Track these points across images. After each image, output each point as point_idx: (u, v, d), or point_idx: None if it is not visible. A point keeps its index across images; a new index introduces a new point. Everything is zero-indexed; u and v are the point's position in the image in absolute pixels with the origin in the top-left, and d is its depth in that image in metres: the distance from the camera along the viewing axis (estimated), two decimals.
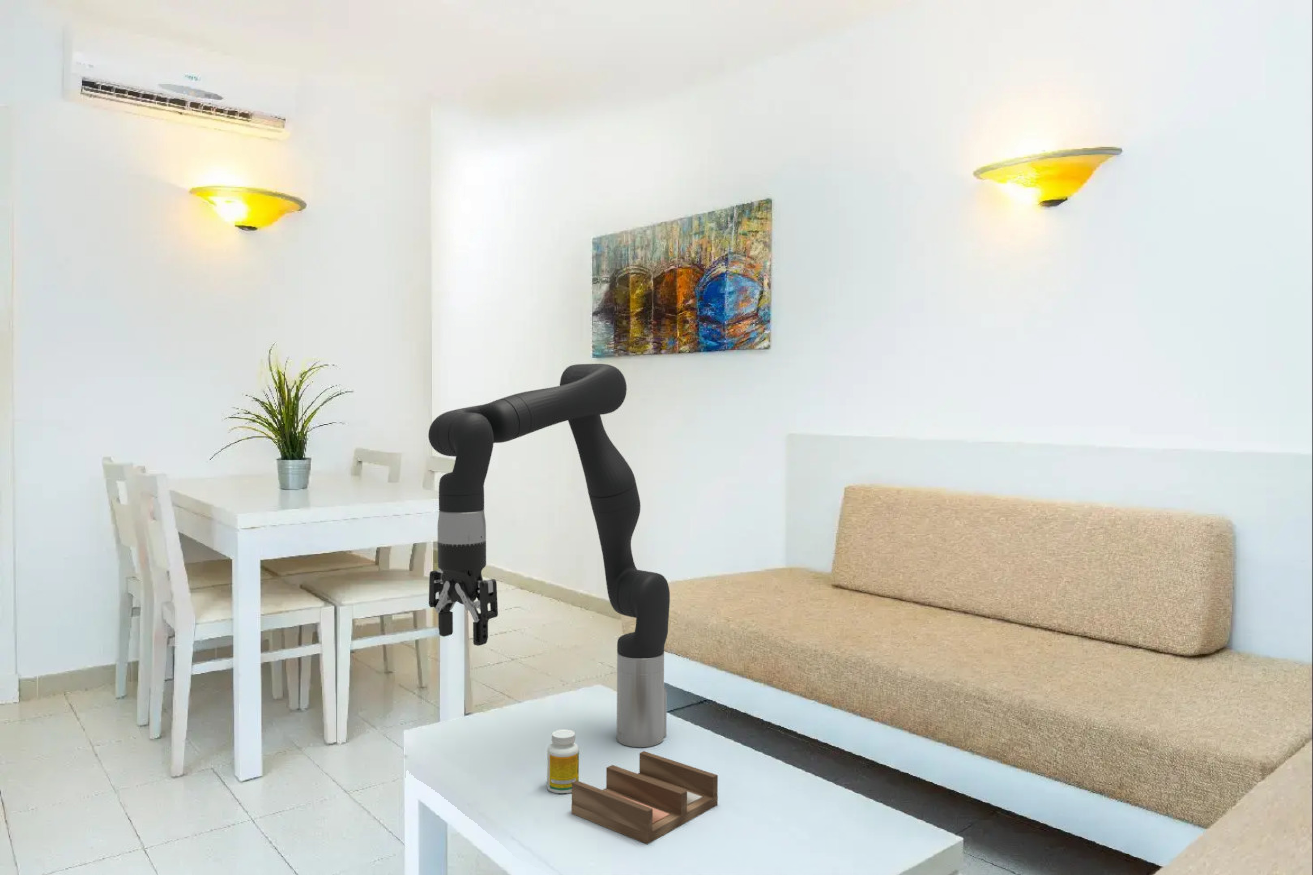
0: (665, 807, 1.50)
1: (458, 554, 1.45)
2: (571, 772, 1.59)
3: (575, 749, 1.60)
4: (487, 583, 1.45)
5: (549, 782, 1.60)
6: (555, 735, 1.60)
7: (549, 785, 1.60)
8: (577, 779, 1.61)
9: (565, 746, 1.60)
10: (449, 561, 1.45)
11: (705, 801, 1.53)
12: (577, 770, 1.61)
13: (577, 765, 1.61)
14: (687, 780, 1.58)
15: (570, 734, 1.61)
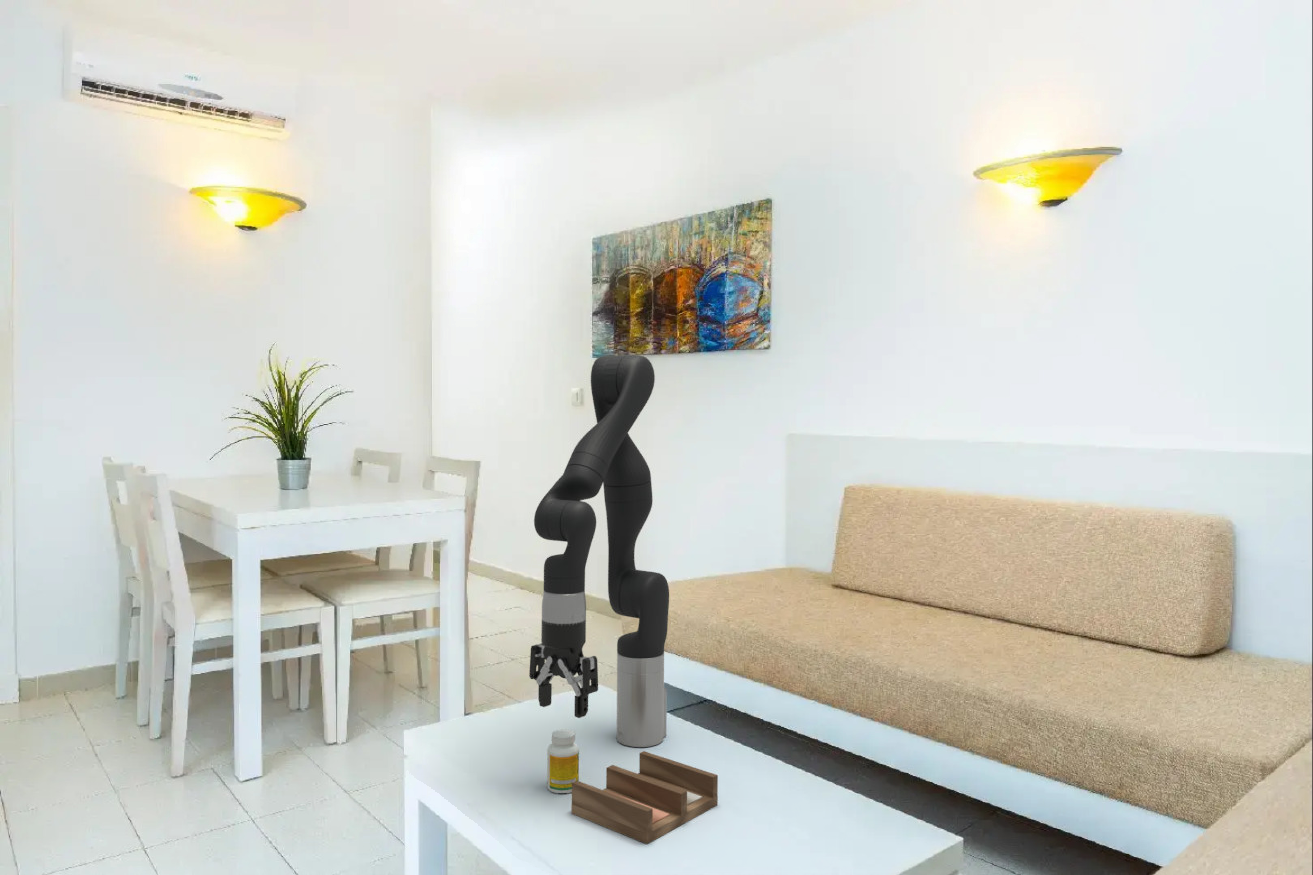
0: (665, 807, 1.50)
1: (563, 633, 1.57)
2: (571, 772, 1.59)
3: (575, 749, 1.60)
4: (589, 660, 1.56)
5: (549, 782, 1.60)
6: (555, 735, 1.60)
7: (549, 785, 1.60)
8: (577, 779, 1.61)
9: (564, 746, 1.60)
10: (554, 639, 1.57)
11: (705, 801, 1.53)
12: (577, 770, 1.61)
13: (577, 765, 1.61)
14: (687, 780, 1.58)
15: (570, 734, 1.61)
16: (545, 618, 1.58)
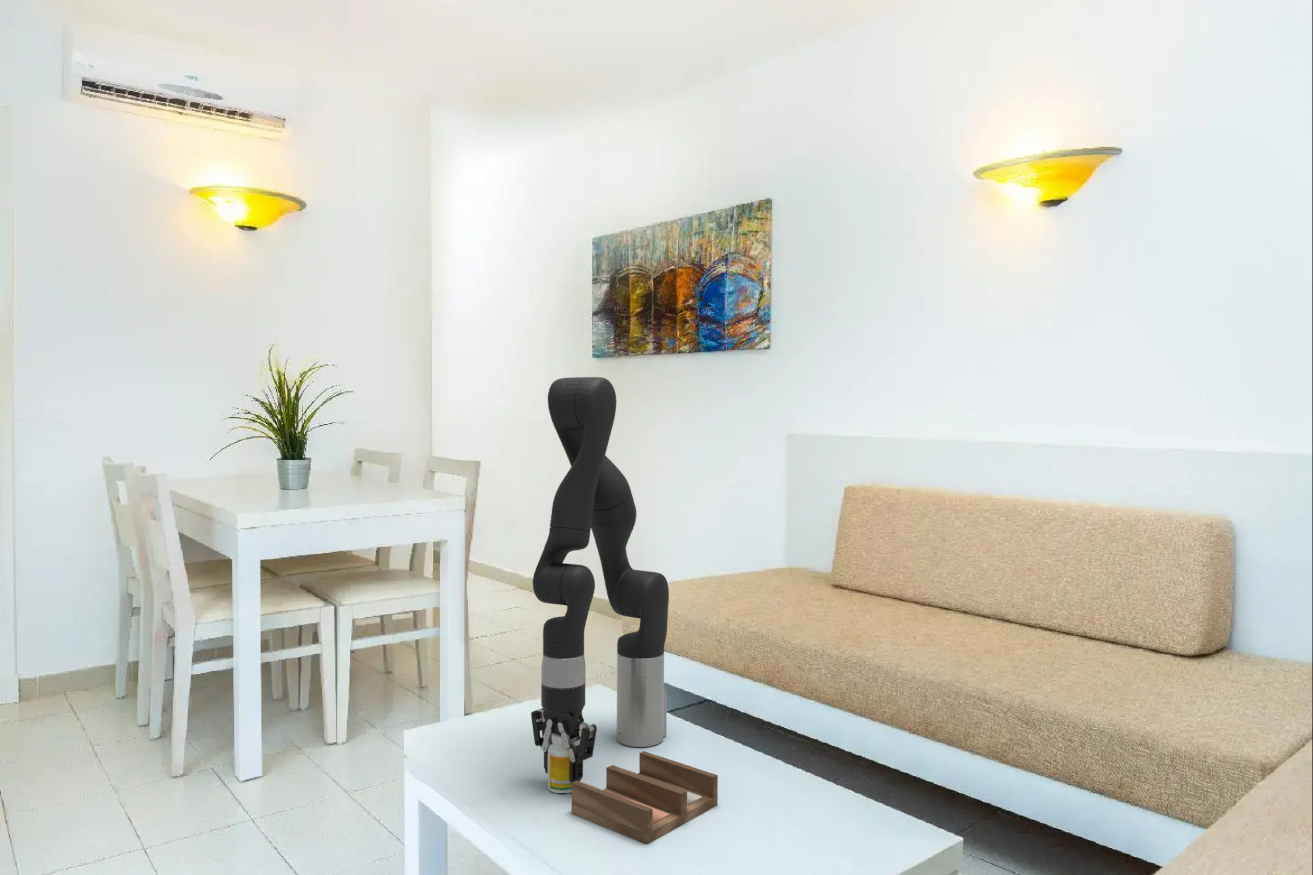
0: (665, 807, 1.50)
1: (562, 697, 1.57)
2: None
3: (575, 749, 1.60)
4: (589, 730, 1.57)
5: (549, 782, 1.60)
6: (555, 735, 1.60)
7: (549, 785, 1.60)
8: None
9: None
10: (554, 703, 1.57)
11: (705, 801, 1.53)
12: None
13: None
14: (687, 780, 1.58)
15: None
16: (545, 682, 1.58)
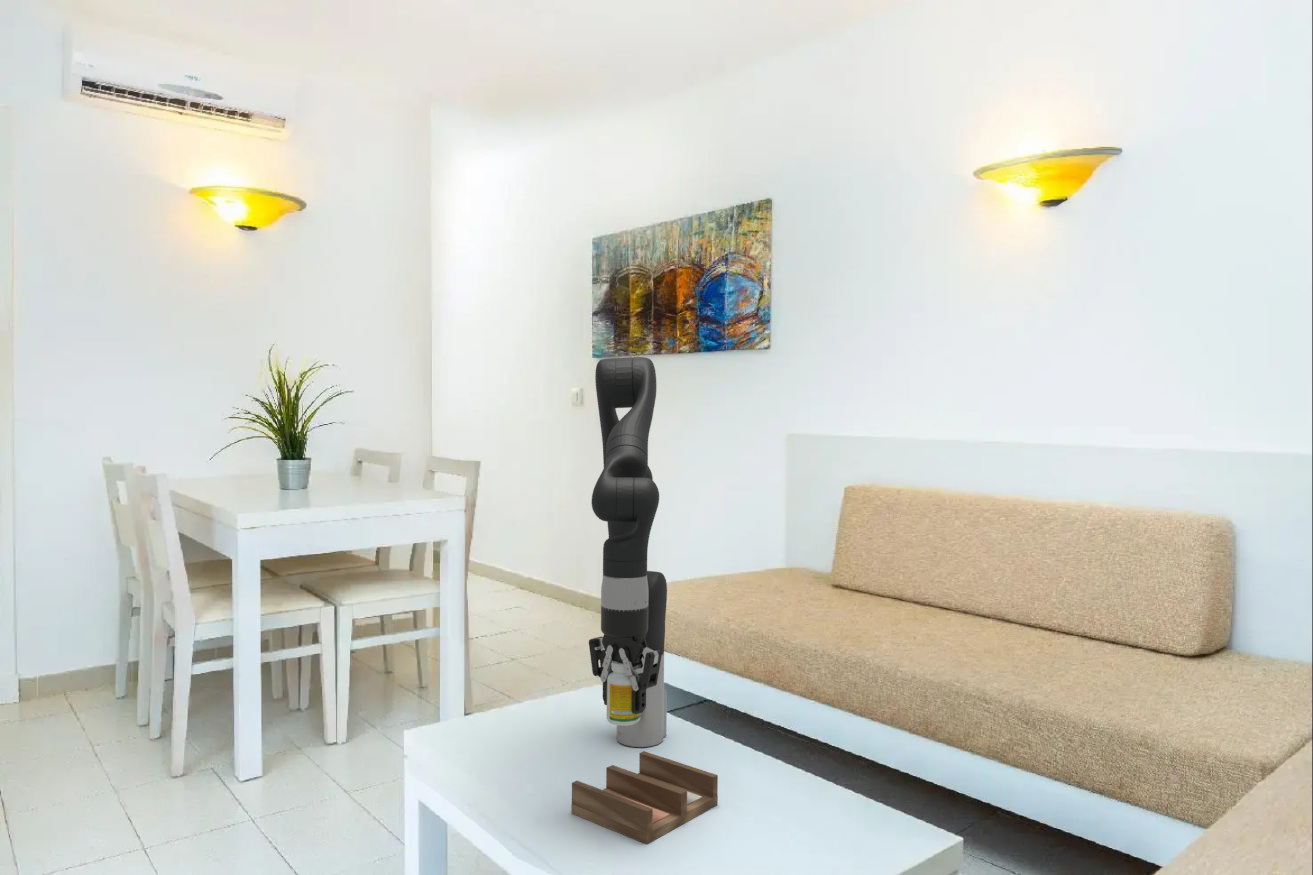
0: (665, 807, 1.50)
1: (625, 620, 1.46)
2: None
3: None
4: (654, 655, 1.45)
5: (609, 713, 1.48)
6: (615, 662, 1.49)
7: (609, 716, 1.48)
8: None
9: None
10: (616, 627, 1.46)
11: (705, 801, 1.53)
12: None
13: None
14: (687, 780, 1.58)
15: None
16: (605, 604, 1.47)
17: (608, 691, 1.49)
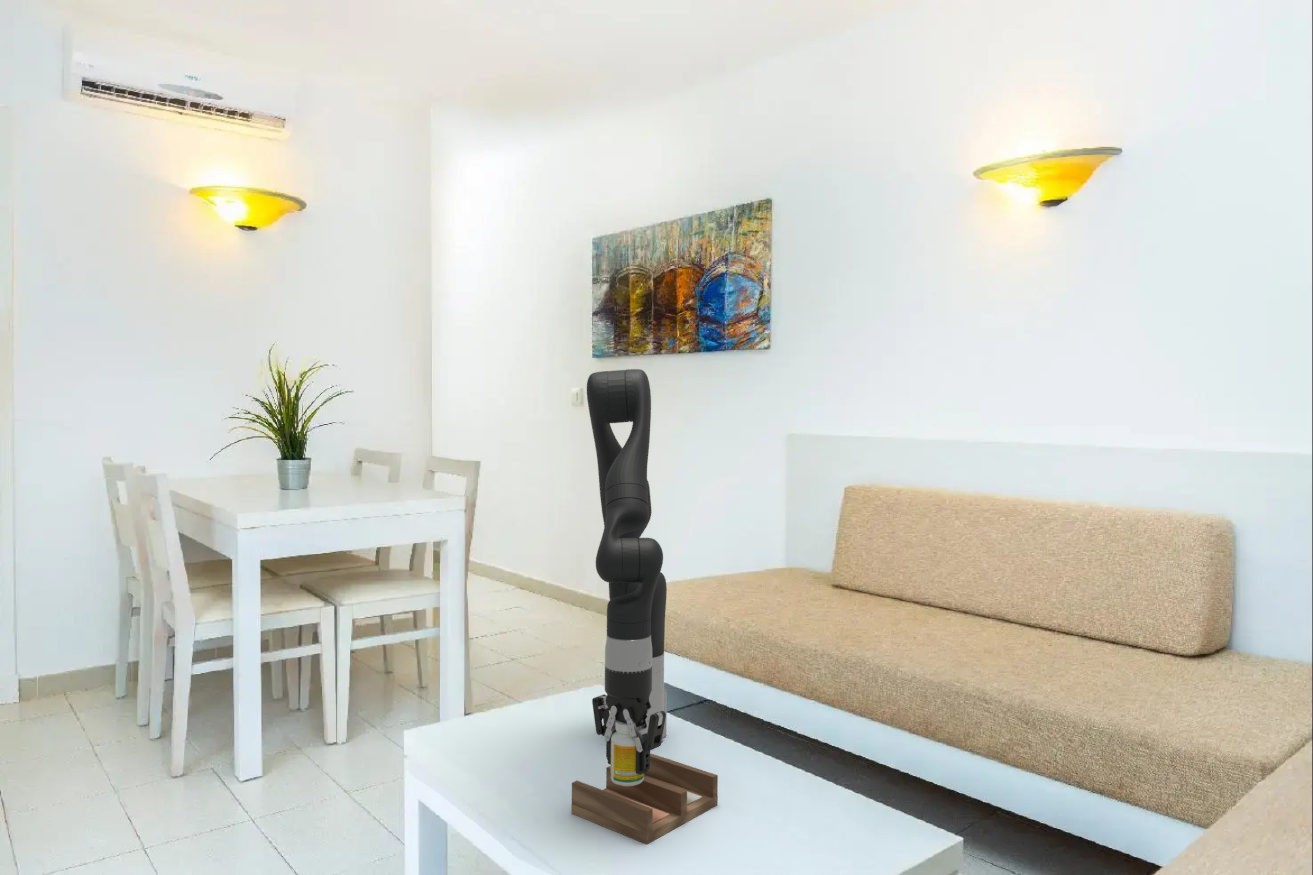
0: (665, 807, 1.50)
1: (629, 681, 1.46)
2: None
3: None
4: (658, 717, 1.45)
5: (613, 774, 1.49)
6: (619, 723, 1.49)
7: (613, 777, 1.49)
8: None
9: (630, 735, 1.48)
10: (620, 688, 1.46)
11: (705, 801, 1.53)
12: None
13: None
14: (687, 780, 1.58)
15: None
16: (609, 665, 1.47)
17: (612, 751, 1.49)
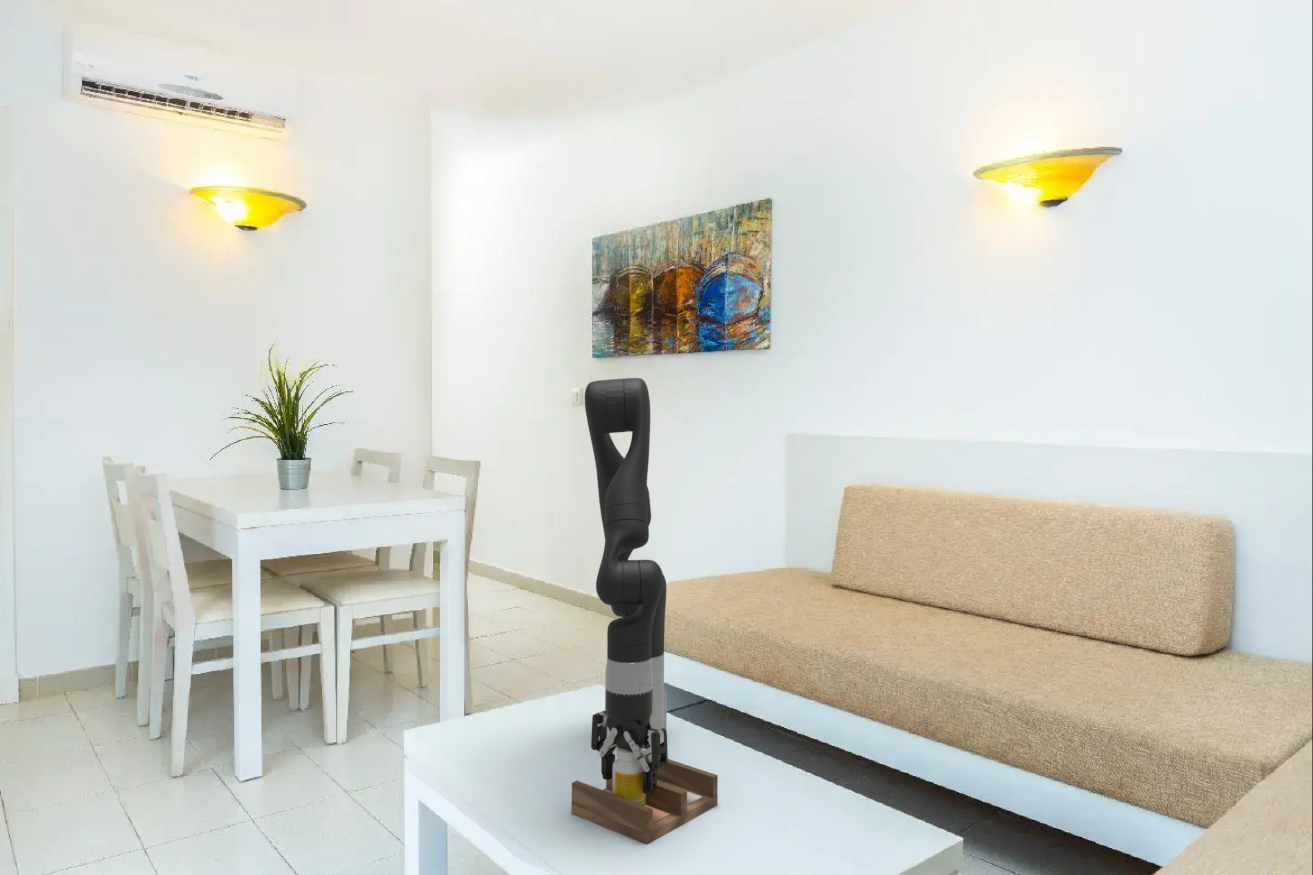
0: (665, 807, 1.50)
1: (630, 704, 1.46)
2: (639, 791, 1.48)
3: None
4: (659, 734, 1.45)
5: None
6: (621, 750, 1.49)
7: None
8: (644, 798, 1.50)
9: (631, 762, 1.48)
10: (620, 711, 1.46)
11: (705, 801, 1.53)
12: None
13: None
14: (687, 780, 1.58)
15: None
16: (610, 688, 1.47)
17: (613, 779, 1.49)
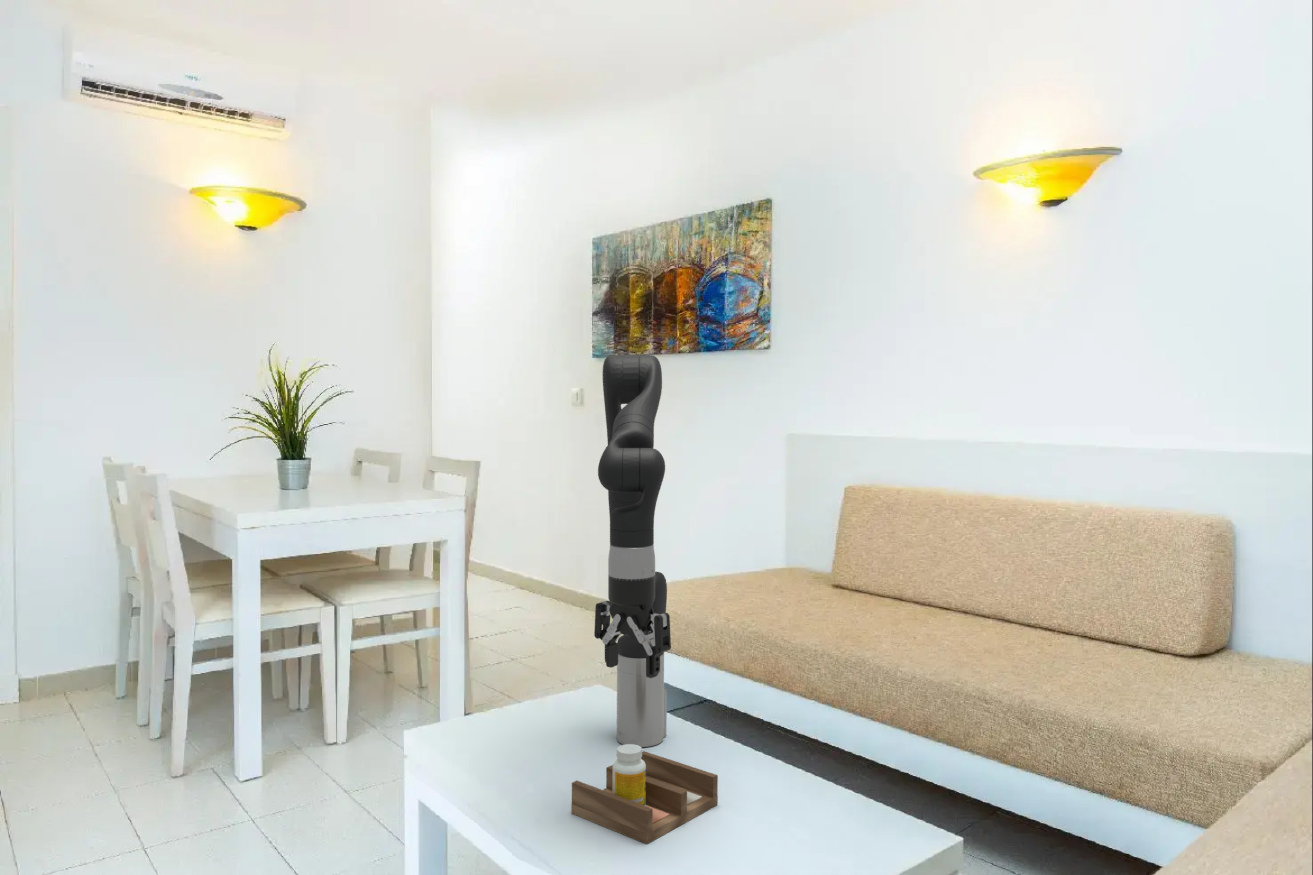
0: (665, 807, 1.50)
1: (633, 589, 1.47)
2: (639, 791, 1.48)
3: (643, 766, 1.49)
4: (662, 617, 1.47)
5: None
6: (621, 751, 1.49)
7: None
8: (644, 798, 1.50)
9: (631, 762, 1.48)
10: (623, 596, 1.47)
11: (705, 801, 1.53)
12: (644, 788, 1.49)
13: (644, 783, 1.49)
14: (687, 780, 1.58)
15: (637, 750, 1.49)
16: (613, 574, 1.48)
17: (613, 779, 1.49)
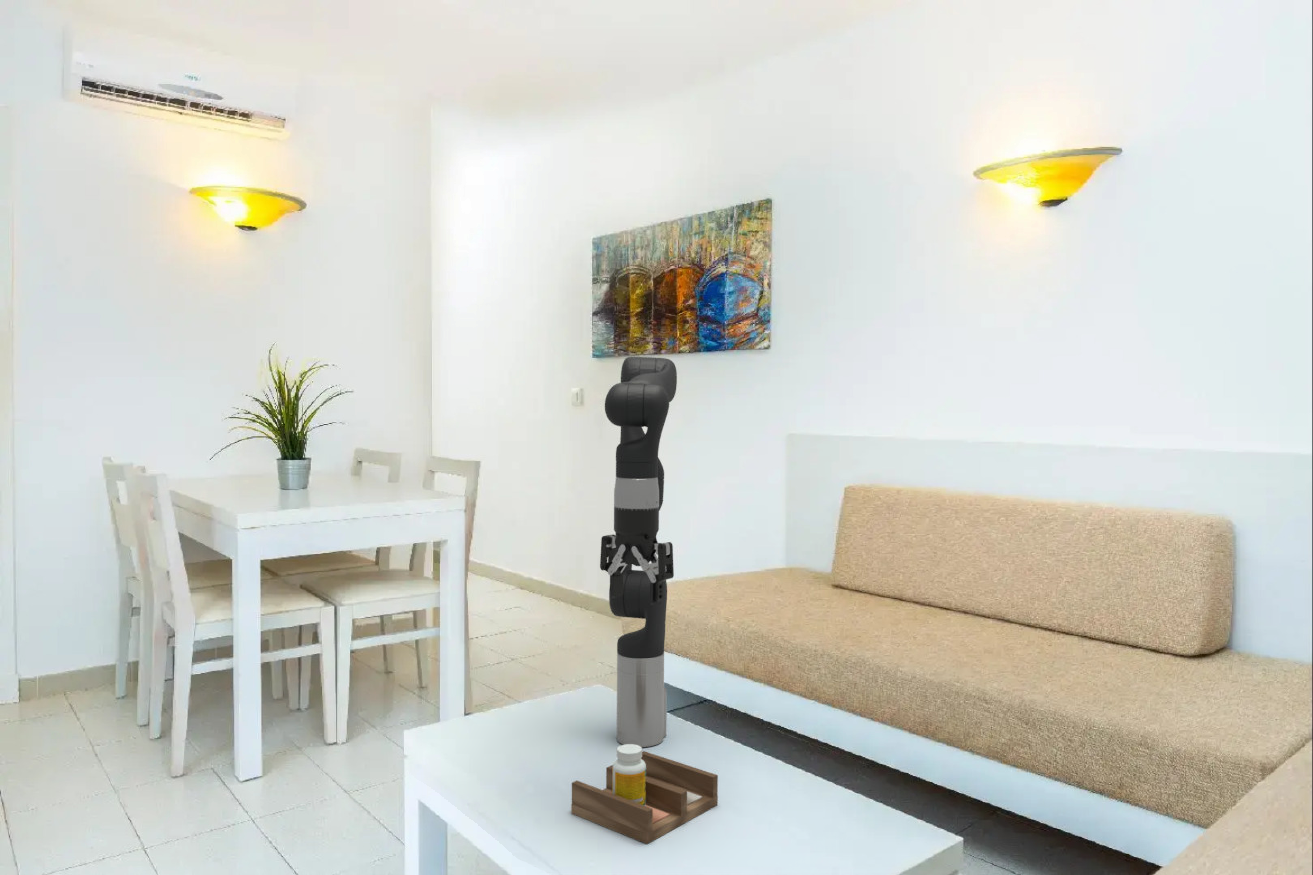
0: (665, 807, 1.50)
1: (637, 518, 1.53)
2: (639, 791, 1.48)
3: (643, 766, 1.49)
4: (665, 545, 1.53)
5: None
6: (621, 750, 1.49)
7: None
8: (644, 798, 1.50)
9: (631, 762, 1.48)
10: (628, 525, 1.54)
11: (705, 801, 1.53)
12: (644, 788, 1.49)
13: (644, 783, 1.49)
14: (687, 780, 1.58)
15: (637, 750, 1.49)
16: (618, 504, 1.55)
17: (613, 779, 1.49)
